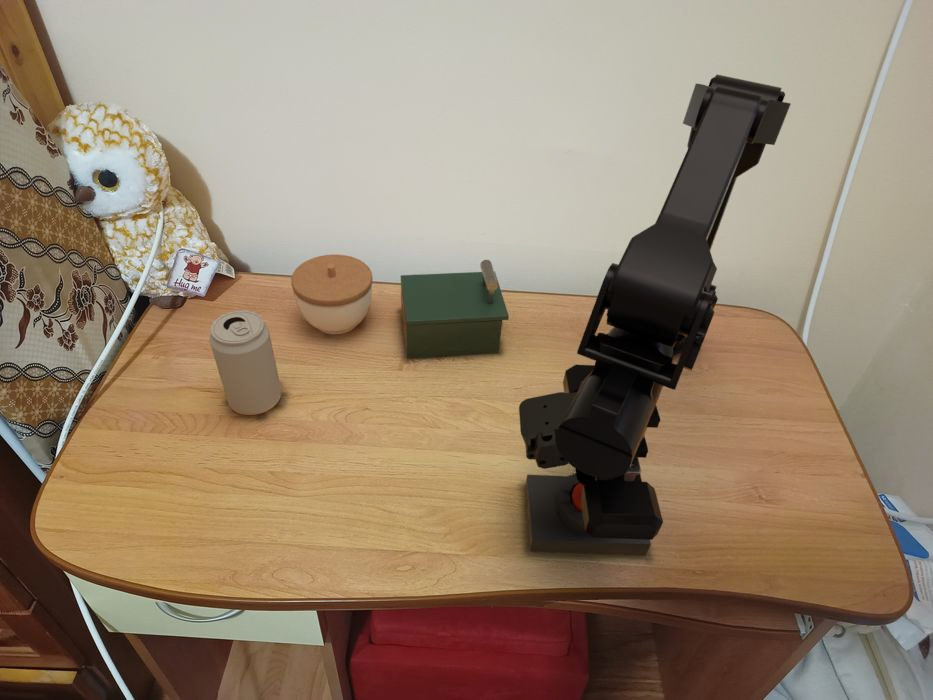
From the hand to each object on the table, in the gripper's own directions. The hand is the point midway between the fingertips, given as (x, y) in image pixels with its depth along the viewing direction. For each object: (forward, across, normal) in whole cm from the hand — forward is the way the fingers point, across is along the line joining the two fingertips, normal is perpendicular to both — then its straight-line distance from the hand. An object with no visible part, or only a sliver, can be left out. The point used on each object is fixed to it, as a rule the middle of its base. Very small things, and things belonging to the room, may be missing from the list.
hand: (590, 495), depth 64 cm
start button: (+2, 0, 0) cm, 2 cm away
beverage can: (+5, -15, -39) cm, 42 cm away
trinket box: (+5, -31, -31) cm, 44 cm away
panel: (+4, 0, 0) cm, 4 cm away
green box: (+4, -30, -15) cm, 34 cm away
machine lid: (-1, -30, -15) cm, 33 cm away
